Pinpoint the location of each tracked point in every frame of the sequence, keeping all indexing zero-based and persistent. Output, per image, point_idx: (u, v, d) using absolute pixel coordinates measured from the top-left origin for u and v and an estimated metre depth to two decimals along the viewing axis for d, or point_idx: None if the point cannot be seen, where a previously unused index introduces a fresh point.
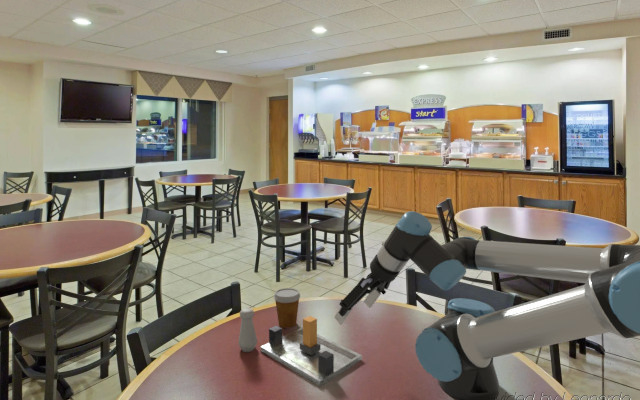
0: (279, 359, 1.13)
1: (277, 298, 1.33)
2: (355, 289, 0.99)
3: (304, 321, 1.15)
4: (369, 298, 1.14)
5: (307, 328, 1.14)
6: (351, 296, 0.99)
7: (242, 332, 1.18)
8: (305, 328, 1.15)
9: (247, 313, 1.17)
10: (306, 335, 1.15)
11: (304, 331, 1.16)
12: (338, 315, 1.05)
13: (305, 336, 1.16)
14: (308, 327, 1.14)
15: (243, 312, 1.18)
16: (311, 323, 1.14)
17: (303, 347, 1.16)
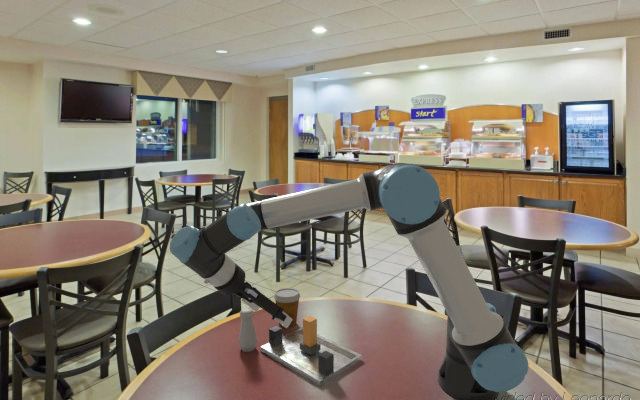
0: (279, 359, 1.13)
1: (277, 298, 1.33)
2: (261, 302, 0.92)
3: (304, 321, 1.15)
4: (253, 304, 1.08)
5: (307, 328, 1.14)
6: (268, 305, 0.93)
7: (242, 332, 1.18)
8: (305, 328, 1.15)
9: (247, 313, 1.17)
10: (306, 335, 1.15)
11: (304, 331, 1.16)
12: (285, 323, 0.99)
13: (305, 336, 1.16)
14: (308, 327, 1.14)
15: (243, 312, 1.18)
16: (311, 323, 1.14)
17: (303, 347, 1.16)
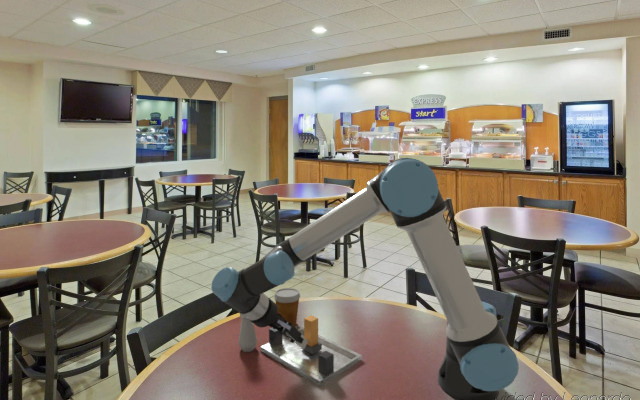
0: (279, 359, 1.13)
1: (277, 298, 1.33)
2: (291, 333, 1.04)
3: (305, 320, 1.15)
4: None
5: (308, 328, 1.15)
6: (294, 334, 1.05)
7: (242, 332, 1.18)
8: (307, 328, 1.15)
9: None
10: (308, 334, 1.15)
11: (305, 330, 1.16)
12: (302, 344, 1.13)
13: (306, 335, 1.16)
14: (310, 326, 1.14)
15: None
16: (312, 322, 1.14)
17: None
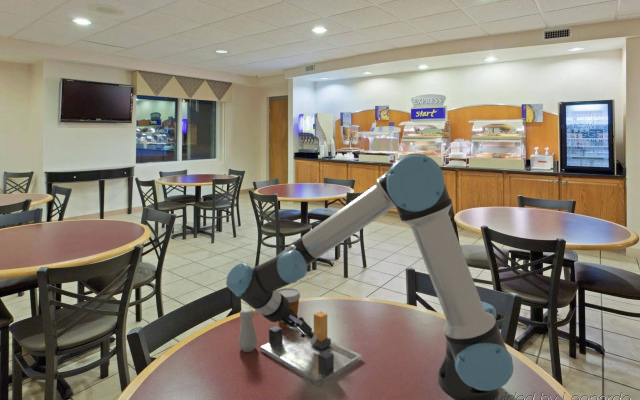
0: (279, 359, 1.13)
1: None
2: (302, 328, 1.06)
3: (315, 316, 1.18)
4: None
5: (318, 323, 1.18)
6: (305, 329, 1.08)
7: (242, 332, 1.18)
8: (316, 323, 1.18)
9: (247, 313, 1.17)
10: (317, 329, 1.18)
11: (315, 326, 1.19)
12: (312, 339, 1.16)
13: (315, 330, 1.19)
14: (319, 322, 1.17)
15: (243, 312, 1.18)
16: (322, 318, 1.17)
17: None
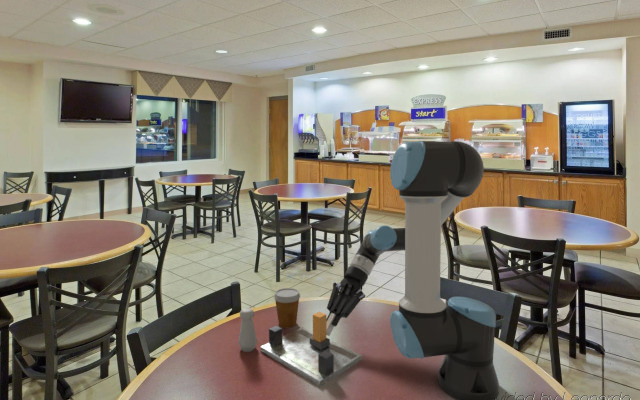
0: (279, 359, 1.13)
1: (277, 298, 1.33)
2: (355, 301, 1.23)
3: (314, 317, 1.18)
4: None
5: (317, 324, 1.17)
6: (351, 306, 1.23)
7: (242, 332, 1.18)
8: (315, 324, 1.18)
9: (247, 314, 1.17)
10: (316, 330, 1.18)
11: (314, 326, 1.19)
12: (328, 328, 1.21)
13: (314, 331, 1.19)
14: (318, 322, 1.17)
15: (243, 312, 1.18)
16: (321, 318, 1.17)
17: (313, 342, 1.19)
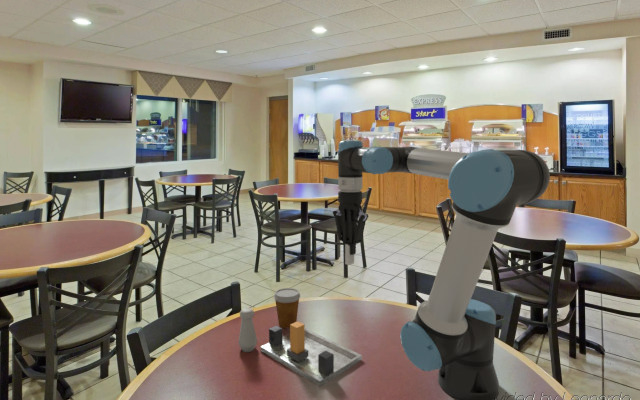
0: (279, 359, 1.13)
1: (277, 298, 1.33)
2: (361, 226, 1.16)
3: (291, 327, 1.11)
4: None
5: (294, 334, 1.11)
6: (360, 232, 1.17)
7: (242, 332, 1.18)
8: (293, 334, 1.11)
9: (247, 313, 1.17)
10: (294, 341, 1.11)
11: (291, 337, 1.12)
12: (350, 259, 1.21)
13: (292, 342, 1.12)
14: (296, 333, 1.10)
15: (243, 312, 1.18)
16: (298, 329, 1.10)
17: (290, 354, 1.12)
